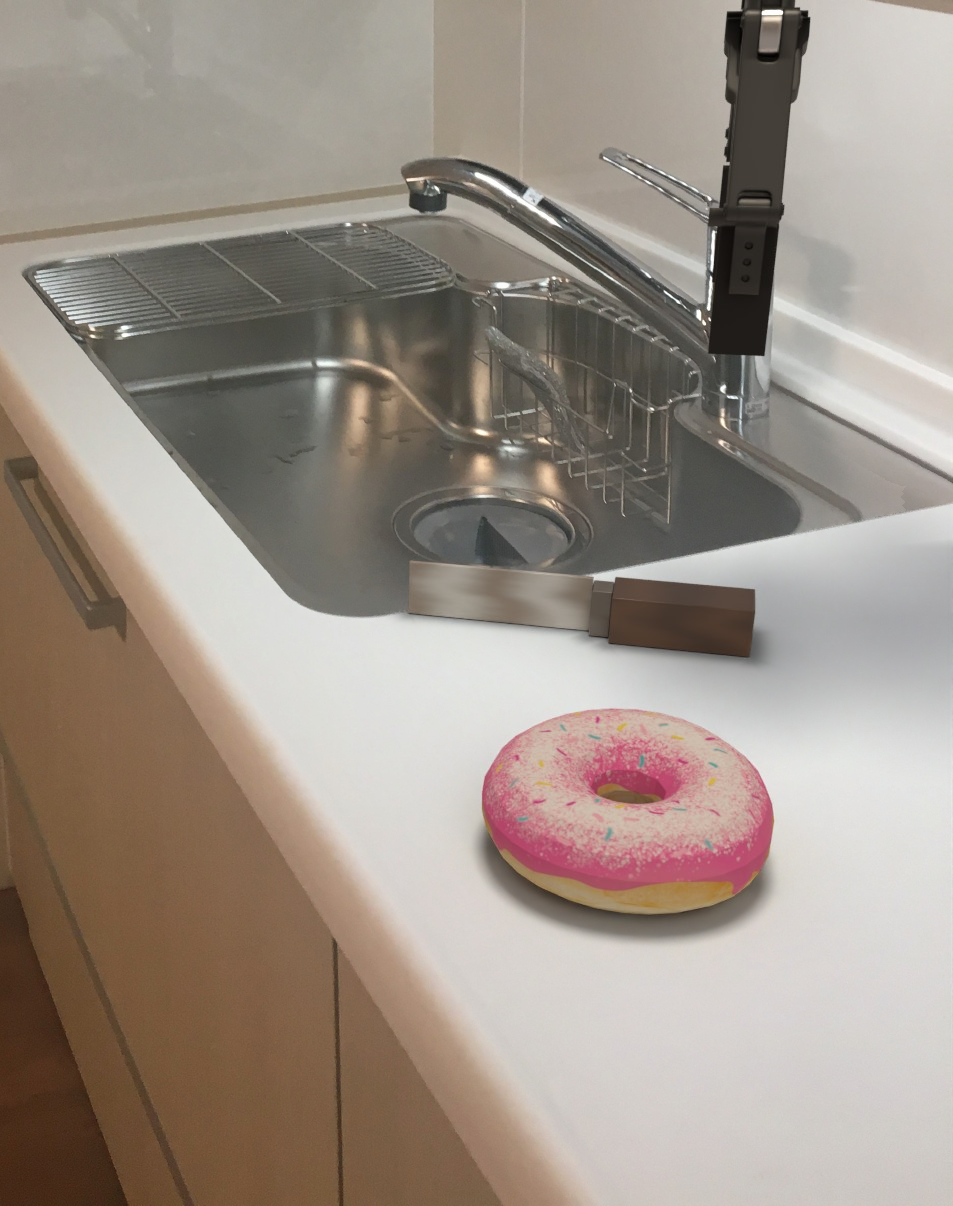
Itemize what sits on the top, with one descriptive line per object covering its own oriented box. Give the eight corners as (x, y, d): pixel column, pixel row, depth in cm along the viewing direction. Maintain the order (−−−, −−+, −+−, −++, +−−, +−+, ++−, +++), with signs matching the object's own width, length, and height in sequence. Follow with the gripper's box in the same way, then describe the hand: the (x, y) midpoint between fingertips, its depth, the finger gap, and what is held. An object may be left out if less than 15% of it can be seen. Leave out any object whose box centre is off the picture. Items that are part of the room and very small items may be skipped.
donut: (521, 950, 72) (527, 856, 70) (449, 787, 84) (452, 702, 82) (818, 923, 73) (833, 830, 71) (704, 766, 85) (714, 681, 83)
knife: (749, 634, 98) (756, 581, 97) (749, 657, 96) (756, 603, 94) (412, 601, 104) (413, 551, 102) (404, 622, 101) (405, 571, 100)
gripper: (704, -124, 91) (672, 255, 101) (694, -93, 70) (654, 384, 79) (849, -129, 89) (802, 258, 99) (884, -99, 68) (820, 392, 77)
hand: (736, 315), depth 89 cm, fingers open, 13 cm apart
